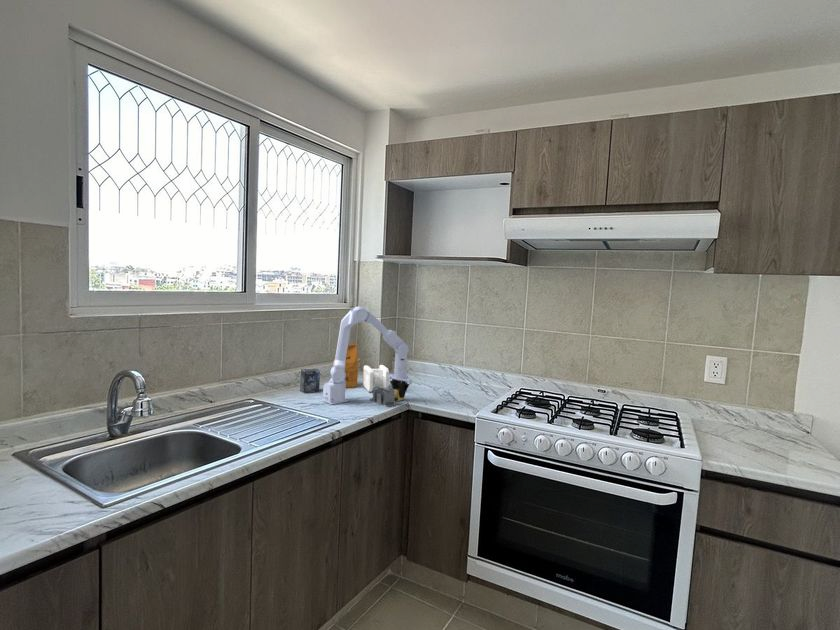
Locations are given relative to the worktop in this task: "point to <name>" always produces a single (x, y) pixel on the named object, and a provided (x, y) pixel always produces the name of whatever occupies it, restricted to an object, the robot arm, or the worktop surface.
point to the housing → (388, 396)
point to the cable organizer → (375, 377)
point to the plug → (396, 396)
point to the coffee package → (351, 366)
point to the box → (310, 380)
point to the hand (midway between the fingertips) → (399, 396)
